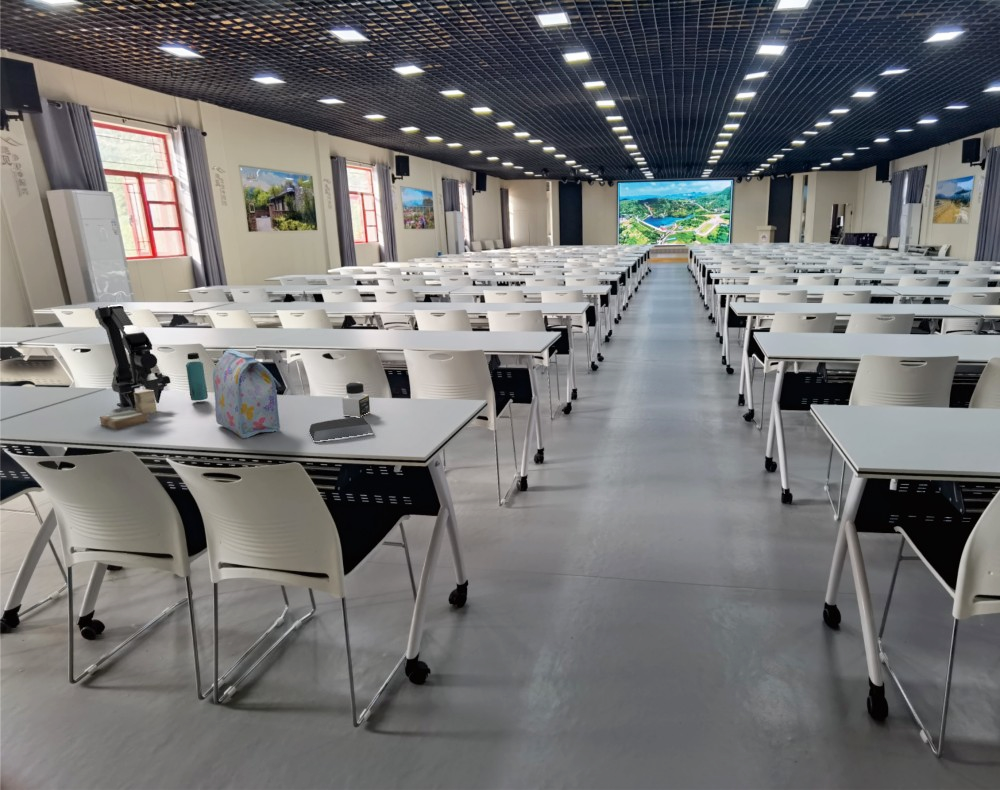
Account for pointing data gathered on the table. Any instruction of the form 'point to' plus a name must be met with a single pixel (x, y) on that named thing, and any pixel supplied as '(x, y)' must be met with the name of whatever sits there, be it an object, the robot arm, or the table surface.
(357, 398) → the medicine bottle
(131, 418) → the picture frame
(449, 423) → the table surface
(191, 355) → the beverage bottle
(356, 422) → the external hard drive
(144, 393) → the oak block
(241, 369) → the lunch bag
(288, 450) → the table surface
